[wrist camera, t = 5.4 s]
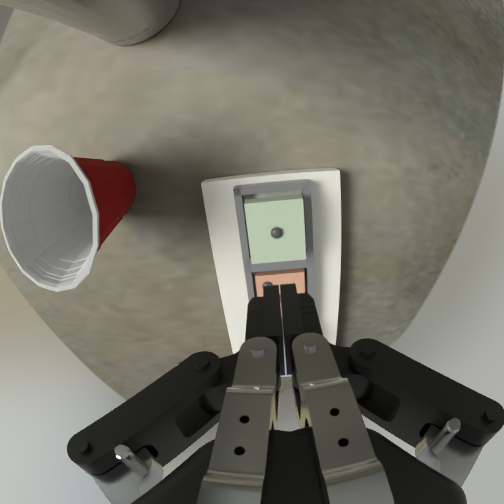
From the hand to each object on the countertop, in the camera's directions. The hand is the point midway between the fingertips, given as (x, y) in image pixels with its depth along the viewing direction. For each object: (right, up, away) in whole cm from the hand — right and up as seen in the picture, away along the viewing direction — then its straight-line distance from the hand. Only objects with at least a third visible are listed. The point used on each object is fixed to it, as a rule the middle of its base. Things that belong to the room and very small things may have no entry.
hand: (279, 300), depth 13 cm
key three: (+2, -1, +14) cm, 14 cm away
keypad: (+2, 0, +16) cm, 16 cm away
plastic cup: (-16, +9, +13) cm, 22 cm away
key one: (+1, +4, +10) cm, 11 cm away
